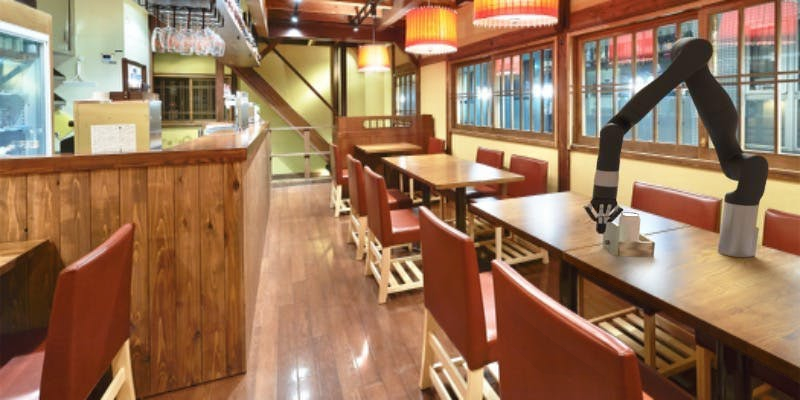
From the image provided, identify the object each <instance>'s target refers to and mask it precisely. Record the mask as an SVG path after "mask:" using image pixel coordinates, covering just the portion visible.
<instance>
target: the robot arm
mask: <svg viewBox="0 0 800 400" xmlns="http://www.w3.org/2000/svg"><path fill="white" fill-rule="evenodd" d="M669 52H670V53H669V58H670V61H671V63H670V64H669V66H668V67H667V68H666V69H665V70H664V71H663V72H662V73H661V74H660V75H658V76H657V77H656V78H655V79H653V80H652V81H650V82H649V83H647V84H646V85H645V86H643V87H642V88H641V89H639V91H637V92H636V93H635V94H634V95H632V96H631V98H630V99H629V100H628V101H627V102H626V103H625V104H624V105H623V106H622V107H621V108H620V110H619V111H618V112H617V113H616V114H615V115H614V116H613V117H612V118H611V119H610V120H609V121H607V123H604V125H602V126H603V127H601V129H600V130H599V144H598V154H597V158H596V165H595V167H596V169H595V174H594V177H593V178H594V179H593V188H592V197H591V200H590V202H589V203H588V204H587V205H583V209H584V211H585V212H586V213H587V215H588V216H589V218H590V219H591V220H592V221H593V222H596V224H595V225H596V226H595V231H596V232H597V234H598V235H603V234H604V232H605V231H606V224H607V223H608V222H615V221H614V220H616V219H617V218H618V217H619V216H620V215H621V213H622V212H623V211H624V209H623V208H622V206H620V205H619V204H618V201H617V198H618V188H619V182H620V164H621V152H622V148H623V143H624V136H625V135H626V134H627V133H628V132H629V131H630V130H631V129H632V128H633V127H634V126H635V125H637V124H638V123H640V122H641V121H642V120H643V119H644V118H645V117H646V116H647V115H648V114H649V113H650V112H651V111H652V110H653V109H654V108H655V107H656V106H657V105H659V103H660V102H661V101H663V99H664V98H665V97H667V96H668V95H669V94H670V93H671V92H673V91H674V90H675V89H676V88H677V87H679V86H680V84H682V83H685V86H686V88H687V91H688V92H689V95H690V98H691V100H692V102H693V105H694V108H695V109H696V111H697V114H698V116H699V119H700V121H701V122H702V124H703V127H704V128H705V130H706V132H707V135H708V136H709V138H710V141H711V143H712V145H713V147H714V150H715V153H716V156H717V159H718V163H719V165H720V166H719V167H720V169H721V171H722V173H723V174H724V175H723V176H725V177H726V178H727V179H728V180H731V181H734V182H737V186H736V189H735V190H732V191H728V192H726V193H725V194H724V199H723V207H722V217H721V223H720V230H719V239H718V247H717V252H718V253H720V254H722V255H725V256H728V257H734V258H750V257H755V256H756V253H757V245H758V239H759V232H760V228H759V227H758V226H757V224H758V218H759V217H758V215H759V207H760V202H761V200H762V197H764V194H765V189H766V186H767V182H768V181H767V180H768V177H769V176H768V175H769V170H770V169H769V167H770V166H769V161H768V159H767V158H766V157H765V156H763V155H761V154H756V153H746V152H745V151H743V149H742V148H741V145H740V143H739V142H738V139H737V129H738V125H739V113H738V111H737V109H736V106H735V104H734V102H733V100H732V97H730V95H729V93H728V92H727V91H726V89H725V88H724V87H723V85H721V83H720V82H719V81H718V80H717V79H716V78H715V76H714V75H713V73H712V72H711V70H710V68H709V66H708V62H709V61H711V59H712V56H713V53H714V47H713V44H712V43H711V41H709V39H706V38H704V37H697V36H685V37H682V38H680V39H677V40H676V41H675V42H674V43H673V45H672V46H671V48H670V51H669ZM593 210H594V211H595V214H594V213H593Z"/></svg>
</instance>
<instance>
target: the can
mask: <svg viewBox="0 0 800 400" xmlns="http://www.w3.org/2000/svg"><path fill="white" fill-rule="evenodd" d="M618 225H619V226H620V235H619V241H628V242H639V233H641V232H640V229H641V217H640V213H637V212H633V211H624V212H623V211H622V212H621V213H620V215H619V216H618Z"/></svg>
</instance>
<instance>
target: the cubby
mask: <svg viewBox="0 0 800 400" xmlns="http://www.w3.org/2000/svg"><path fill="white" fill-rule="evenodd" d="M639 240H640V241H641V242H628V241H619V248H618V255H617V257H619V258H654V256H655V249H656V248H655V247H656V246H655V245H656V242H655V241H653V240H652V239H650V238H648V237H647V236H646V235H644V234H643V233H641V232H639Z"/></svg>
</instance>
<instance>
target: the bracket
mask: <svg viewBox="0 0 800 400" xmlns="http://www.w3.org/2000/svg"><path fill="white" fill-rule="evenodd" d="M602 235H603V236H602V246H604V247H605V249H607V250H608V251H609V252H610V253H611V254H612V255H614V256H618V248H619V235H620V226H619V223H618V224H617V223H616V222H615V221H613V222H608V223H607V224H606V231H605V232H604V234H602ZM639 242H641V241H640V240H639Z"/></svg>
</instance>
